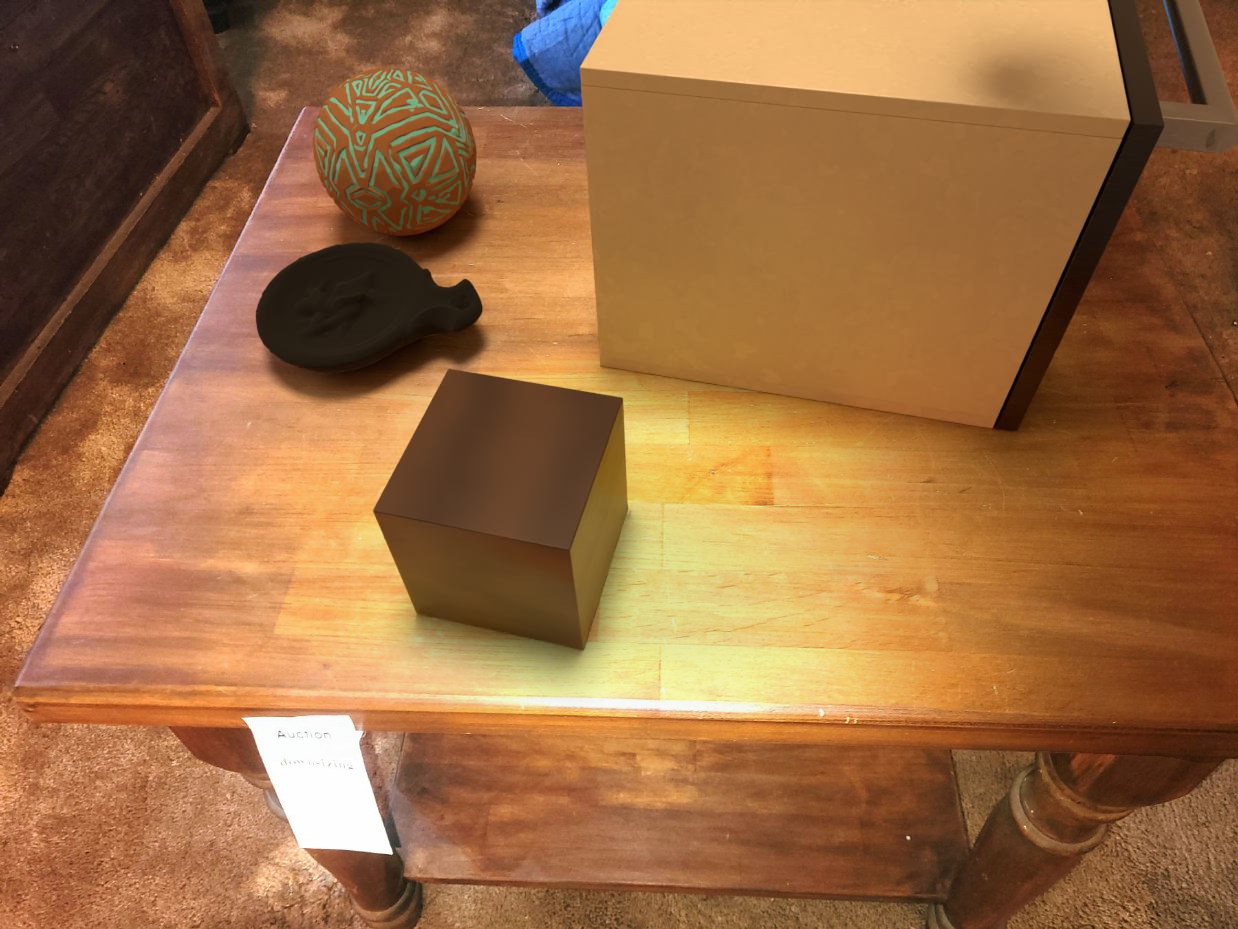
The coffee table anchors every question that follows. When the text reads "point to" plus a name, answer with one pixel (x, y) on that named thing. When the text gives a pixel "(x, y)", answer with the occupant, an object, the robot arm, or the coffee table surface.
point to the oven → (843, 190)
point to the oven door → (1132, 166)
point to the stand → (509, 506)
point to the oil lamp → (357, 307)
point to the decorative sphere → (394, 151)
